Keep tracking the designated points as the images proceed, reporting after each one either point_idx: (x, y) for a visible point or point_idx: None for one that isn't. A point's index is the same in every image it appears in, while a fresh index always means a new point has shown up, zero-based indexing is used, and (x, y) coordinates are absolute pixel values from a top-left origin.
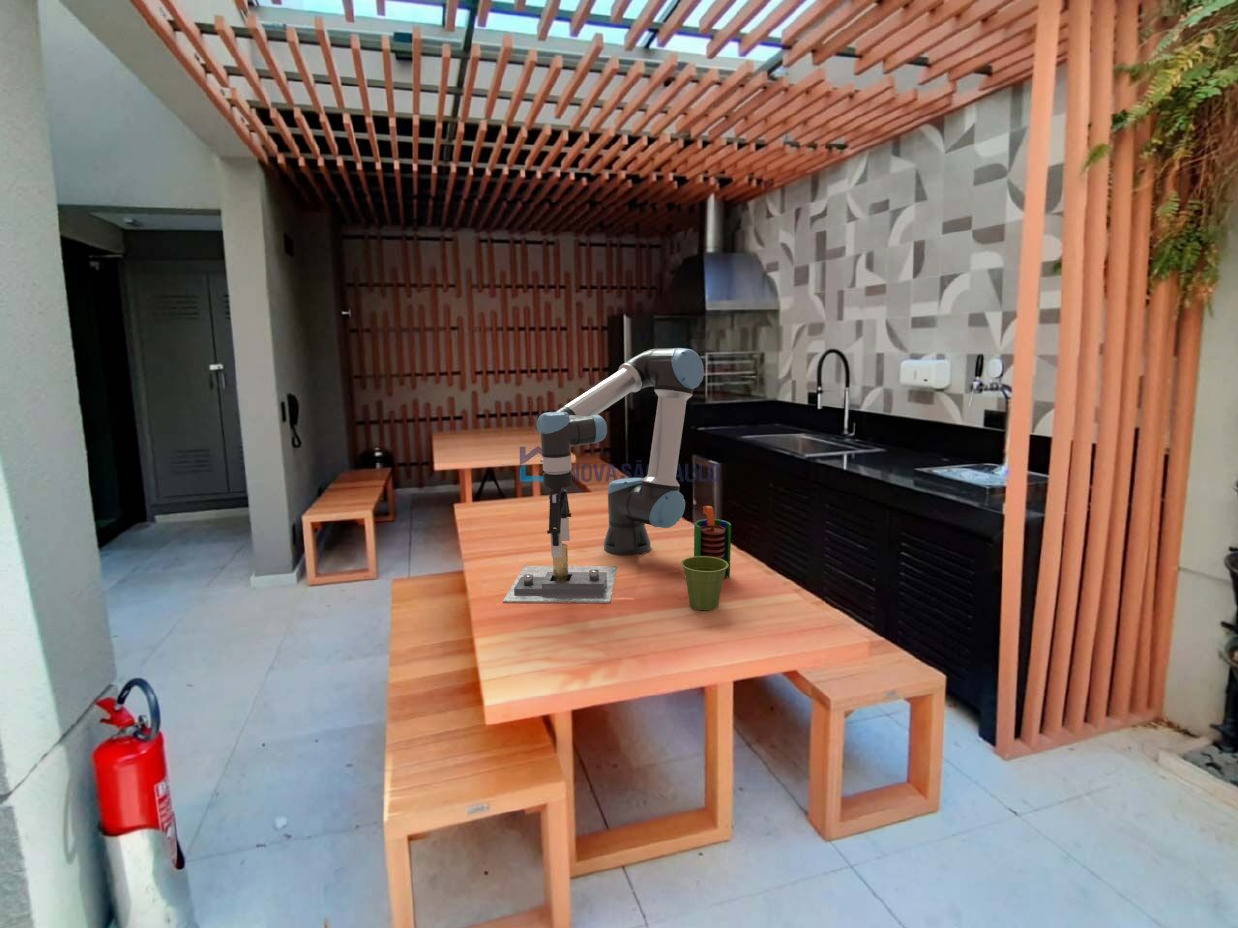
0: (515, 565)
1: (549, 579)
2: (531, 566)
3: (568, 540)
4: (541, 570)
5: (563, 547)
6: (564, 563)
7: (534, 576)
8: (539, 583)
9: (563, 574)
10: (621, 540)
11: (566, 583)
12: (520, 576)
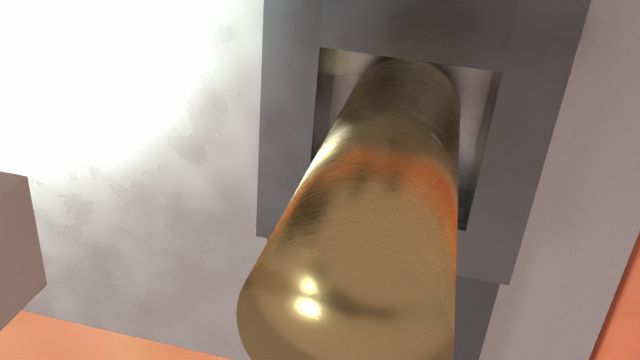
0: (8, 340)
1: None
2: None
3: (23, 190)
4: (78, 228)
5: (437, 299)
6: (442, 176)
7: (181, 268)
8: None
9: (454, 142)
10: None
11: (555, 100)
12: (185, 336)
